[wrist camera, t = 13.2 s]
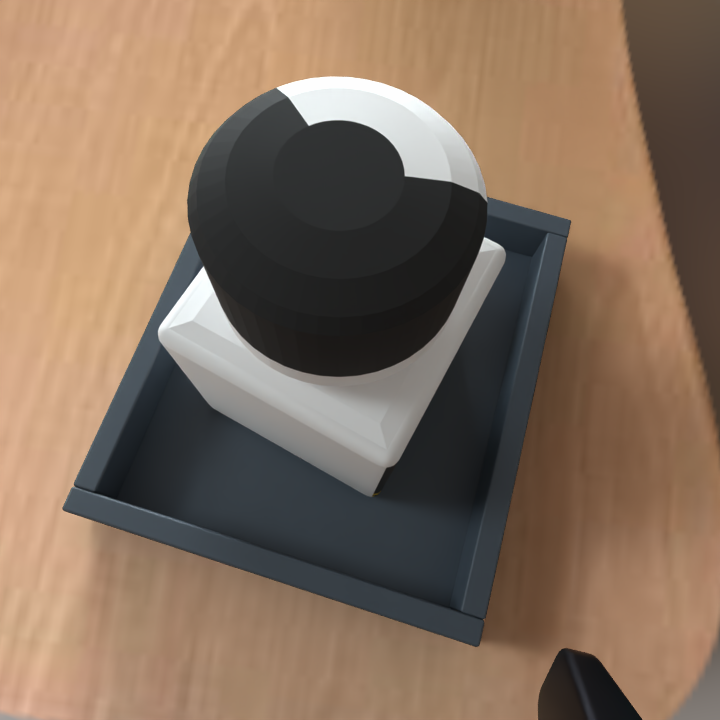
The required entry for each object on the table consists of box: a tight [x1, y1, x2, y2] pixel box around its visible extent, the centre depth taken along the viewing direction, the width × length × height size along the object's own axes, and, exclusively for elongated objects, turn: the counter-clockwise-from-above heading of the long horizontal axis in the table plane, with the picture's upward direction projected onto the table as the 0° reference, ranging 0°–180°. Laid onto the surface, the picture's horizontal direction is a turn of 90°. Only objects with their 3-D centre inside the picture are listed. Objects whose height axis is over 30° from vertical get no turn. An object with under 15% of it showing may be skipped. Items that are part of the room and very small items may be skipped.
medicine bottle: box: [158, 77, 506, 497], centre depth 17 cm, size 7×7×12 cm
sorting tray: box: [63, 197, 571, 647], centre depth 22 cm, size 16×14×2 cm
